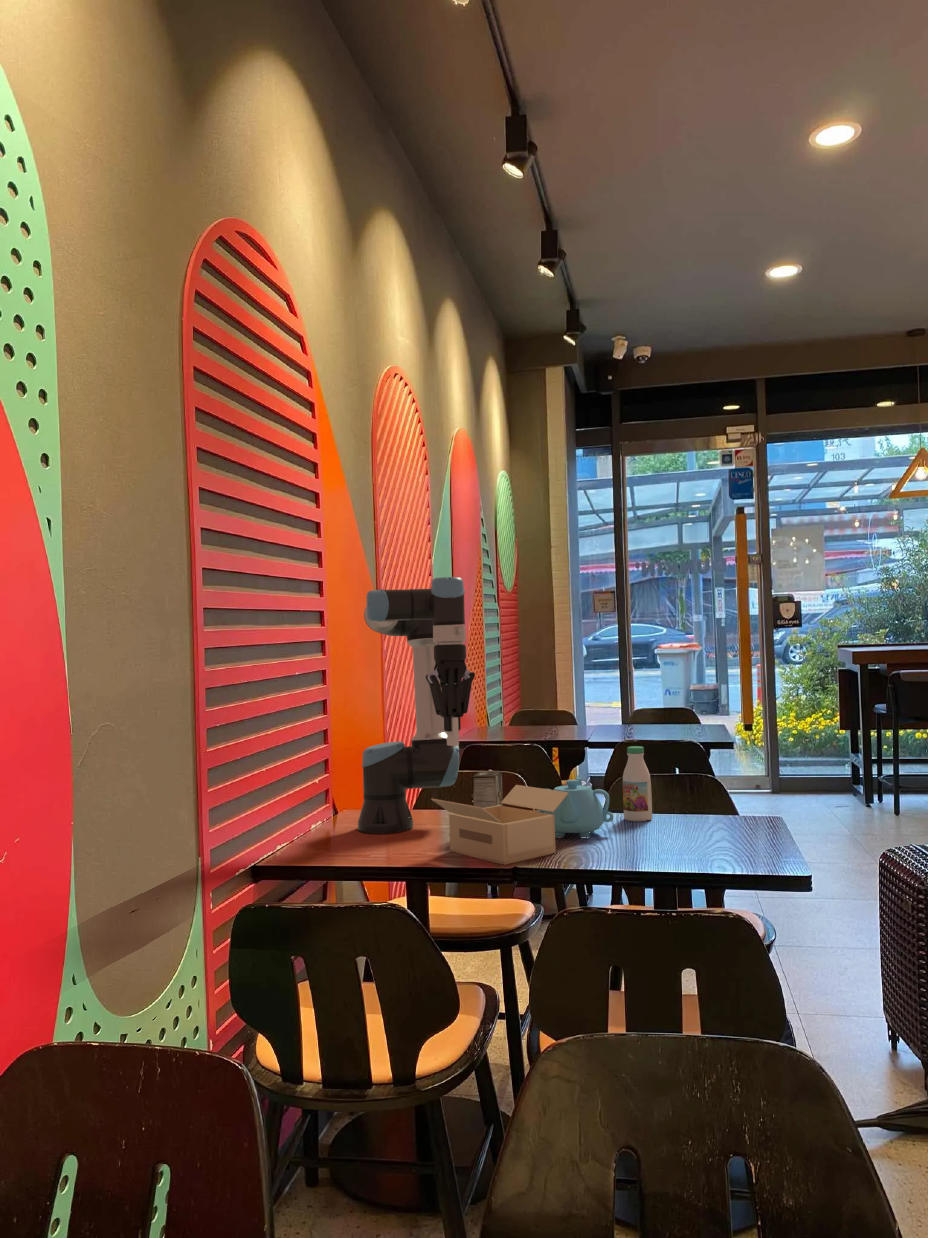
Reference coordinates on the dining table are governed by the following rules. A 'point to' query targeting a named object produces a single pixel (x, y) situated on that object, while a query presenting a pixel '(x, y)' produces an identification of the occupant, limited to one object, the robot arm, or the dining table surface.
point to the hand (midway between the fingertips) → (452, 745)
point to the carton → (503, 835)
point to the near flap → (466, 810)
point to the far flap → (535, 798)
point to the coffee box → (487, 789)
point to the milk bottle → (636, 787)
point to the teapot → (579, 809)
